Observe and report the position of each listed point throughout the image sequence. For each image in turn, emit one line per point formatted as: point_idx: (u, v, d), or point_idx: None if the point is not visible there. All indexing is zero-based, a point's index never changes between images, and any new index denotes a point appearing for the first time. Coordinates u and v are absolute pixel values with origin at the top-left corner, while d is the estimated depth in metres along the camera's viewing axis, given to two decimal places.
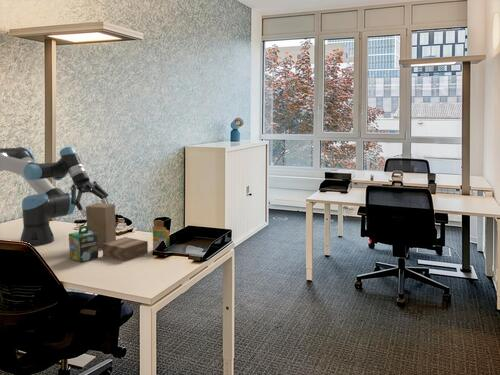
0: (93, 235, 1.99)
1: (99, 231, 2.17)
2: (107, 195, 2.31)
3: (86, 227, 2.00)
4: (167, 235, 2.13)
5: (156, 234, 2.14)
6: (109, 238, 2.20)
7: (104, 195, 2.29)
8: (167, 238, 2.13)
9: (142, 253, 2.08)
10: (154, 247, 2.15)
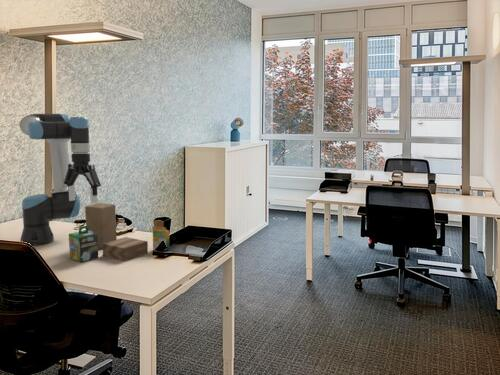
0: (93, 235, 1.99)
1: (97, 232, 2.16)
2: (95, 186, 1.93)
3: (86, 227, 2.00)
4: (167, 235, 2.13)
5: (156, 234, 2.14)
6: (108, 238, 2.19)
7: (92, 185, 1.94)
8: (167, 238, 2.13)
9: (142, 253, 2.08)
10: (154, 247, 2.15)
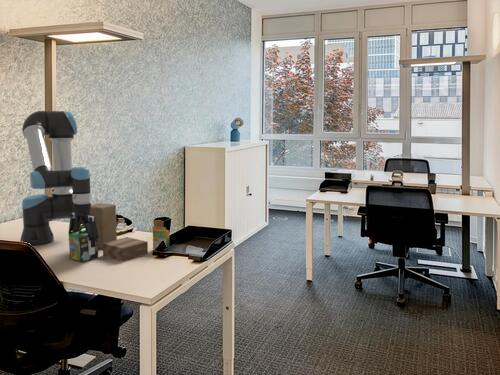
0: None
1: (97, 231, 2.16)
2: (93, 239, 1.96)
3: None
4: (167, 235, 2.13)
5: (156, 234, 2.14)
6: (108, 239, 2.19)
7: (90, 238, 1.96)
8: (167, 238, 2.13)
9: (142, 253, 2.07)
10: (154, 247, 2.15)
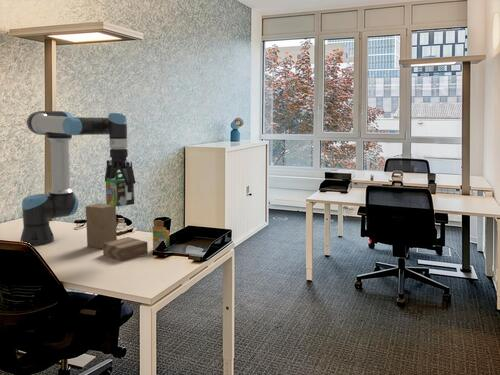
0: None
1: (97, 232, 2.16)
2: (130, 183, 1.98)
3: None
4: (167, 235, 2.13)
5: (156, 234, 2.14)
6: (108, 239, 2.19)
7: (127, 182, 1.99)
8: (167, 238, 2.13)
9: (141, 254, 2.07)
10: (154, 247, 2.15)
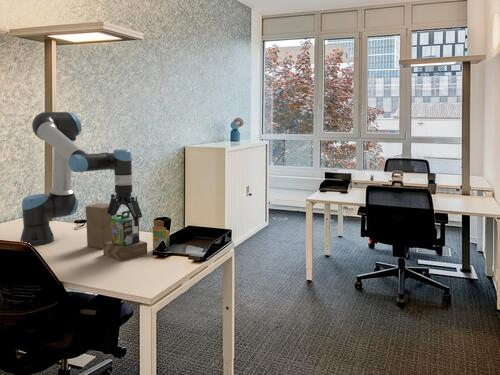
0: None
1: (97, 231, 2.16)
2: (137, 217, 2.00)
3: (128, 212, 2.06)
4: (167, 235, 2.13)
5: (156, 234, 2.14)
6: (108, 239, 2.19)
7: (134, 216, 2.01)
8: (167, 238, 2.13)
9: (141, 254, 2.06)
10: (154, 247, 2.15)
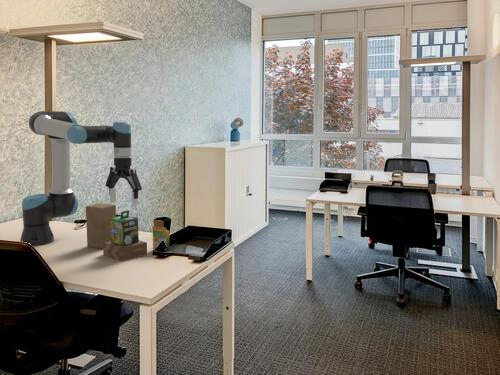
0: (134, 219, 2.05)
1: (97, 231, 2.16)
2: (136, 190, 1.98)
3: (127, 212, 2.06)
4: (167, 235, 2.13)
5: (156, 234, 2.14)
6: (108, 239, 2.19)
7: (133, 189, 1.99)
8: (167, 238, 2.13)
9: (140, 254, 2.06)
10: (154, 247, 2.15)
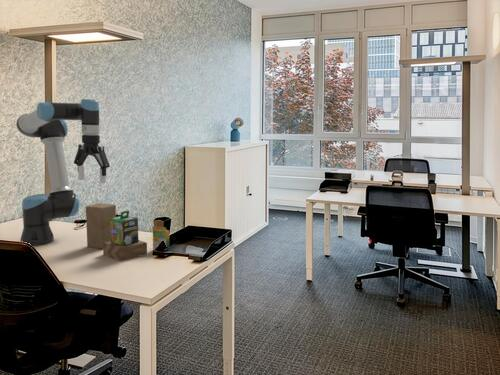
0: (134, 219, 2.06)
1: (97, 231, 2.16)
2: (104, 167, 2.00)
3: (127, 212, 2.06)
4: (167, 235, 2.13)
5: (156, 234, 2.14)
6: (108, 239, 2.19)
7: (101, 166, 2.01)
8: (167, 238, 2.13)
9: (140, 254, 2.07)
10: (154, 247, 2.15)
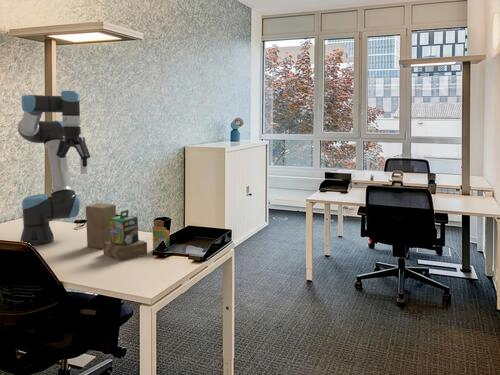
0: (134, 219, 2.06)
1: (97, 231, 2.16)
2: (85, 157, 2.01)
3: (126, 211, 2.06)
4: (167, 235, 2.13)
5: (156, 234, 2.14)
6: (108, 239, 2.19)
7: (82, 156, 2.02)
8: (167, 238, 2.13)
9: (140, 254, 2.06)
10: (154, 247, 2.15)
